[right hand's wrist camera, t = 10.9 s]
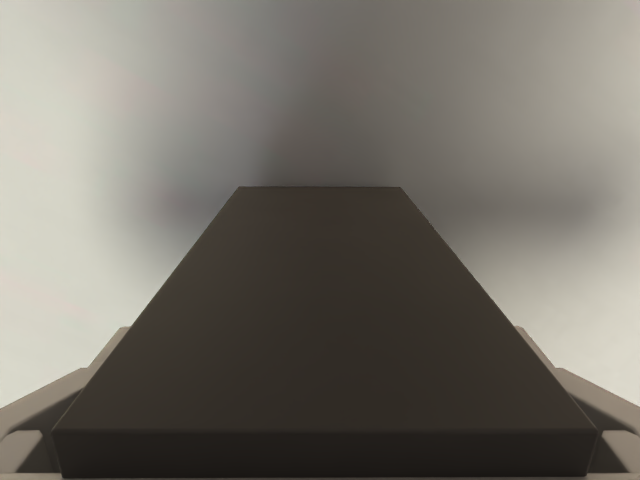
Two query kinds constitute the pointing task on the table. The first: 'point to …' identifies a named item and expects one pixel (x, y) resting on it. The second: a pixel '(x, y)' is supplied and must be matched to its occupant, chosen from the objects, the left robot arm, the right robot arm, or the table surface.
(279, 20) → the table surface
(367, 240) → the box
